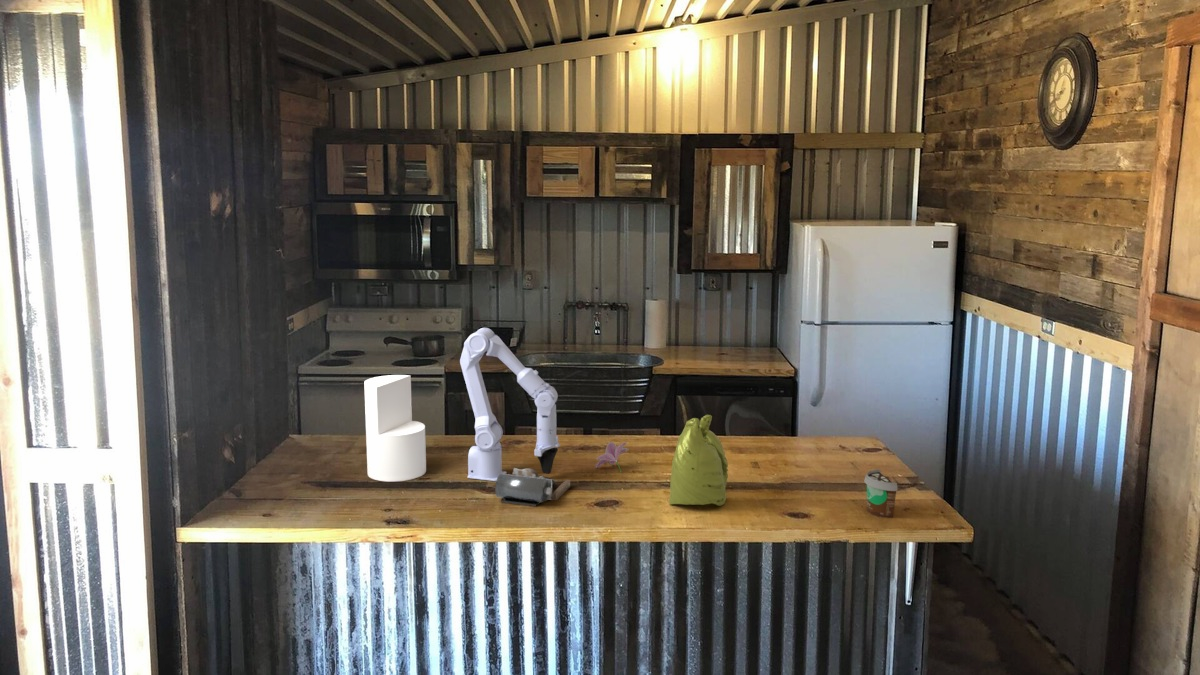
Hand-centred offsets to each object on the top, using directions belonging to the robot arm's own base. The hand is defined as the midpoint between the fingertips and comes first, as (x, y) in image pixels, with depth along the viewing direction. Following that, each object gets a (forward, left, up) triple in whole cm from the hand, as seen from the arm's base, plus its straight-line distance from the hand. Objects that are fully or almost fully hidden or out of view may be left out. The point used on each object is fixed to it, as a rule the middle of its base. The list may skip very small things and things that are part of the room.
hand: (546, 472), depth 268 cm
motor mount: (0, -13, -2) cm, 14 cm away
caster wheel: (0, -10, -2) cm, 11 cm away
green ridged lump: (+45, 0, -2) cm, 46 cm away
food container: (+93, +3, -2) cm, 93 cm away
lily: (+16, +15, -2) cm, 22 cm away
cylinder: (-45, -8, -2) cm, 46 cm away
